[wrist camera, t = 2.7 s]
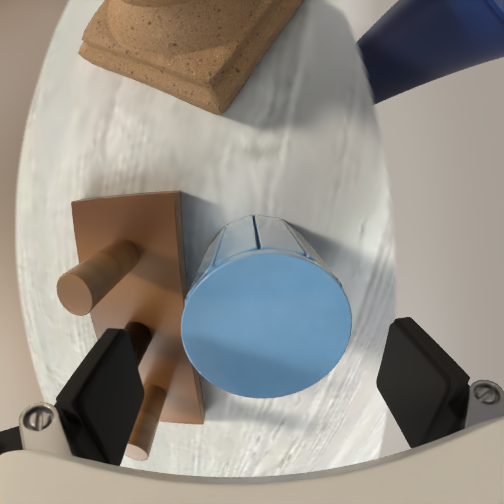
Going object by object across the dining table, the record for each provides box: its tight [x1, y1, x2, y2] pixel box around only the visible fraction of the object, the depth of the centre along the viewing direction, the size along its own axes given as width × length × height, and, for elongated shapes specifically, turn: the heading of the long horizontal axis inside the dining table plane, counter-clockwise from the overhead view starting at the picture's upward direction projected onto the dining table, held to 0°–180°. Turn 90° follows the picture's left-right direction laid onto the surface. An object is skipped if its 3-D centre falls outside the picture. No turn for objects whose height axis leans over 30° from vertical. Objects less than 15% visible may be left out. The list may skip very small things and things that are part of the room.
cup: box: [181, 215, 352, 398], centre depth 14 cm, size 7×7×8 cm
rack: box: [57, 191, 205, 460], centre depth 16 cm, size 18×7×8 cm, turn 1°
